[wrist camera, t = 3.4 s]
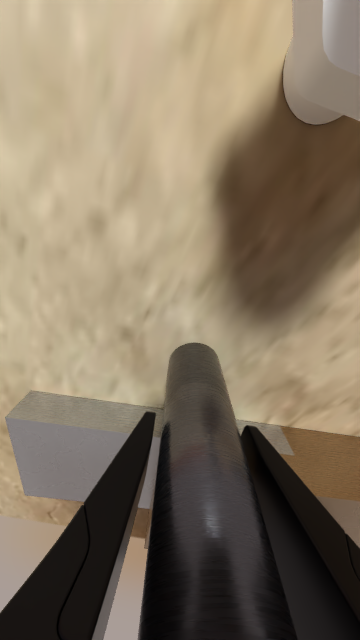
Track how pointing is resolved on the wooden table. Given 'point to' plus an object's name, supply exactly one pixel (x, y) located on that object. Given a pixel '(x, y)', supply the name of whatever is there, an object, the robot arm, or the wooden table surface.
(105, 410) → the tan and silver block
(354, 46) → the pipe fitting
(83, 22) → the wooden table surface
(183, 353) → the metal knob
